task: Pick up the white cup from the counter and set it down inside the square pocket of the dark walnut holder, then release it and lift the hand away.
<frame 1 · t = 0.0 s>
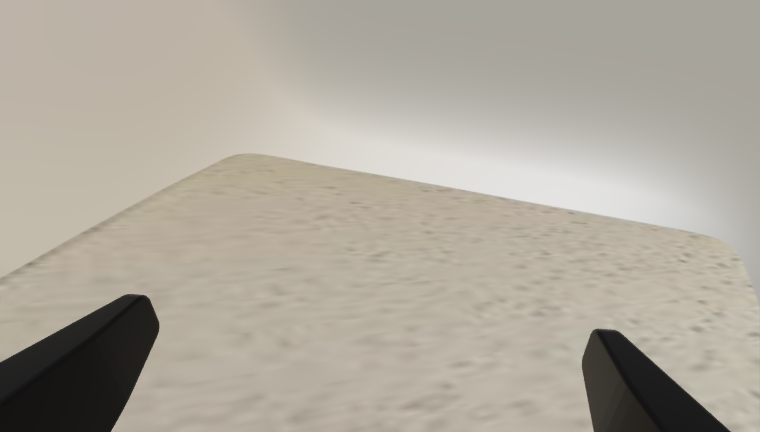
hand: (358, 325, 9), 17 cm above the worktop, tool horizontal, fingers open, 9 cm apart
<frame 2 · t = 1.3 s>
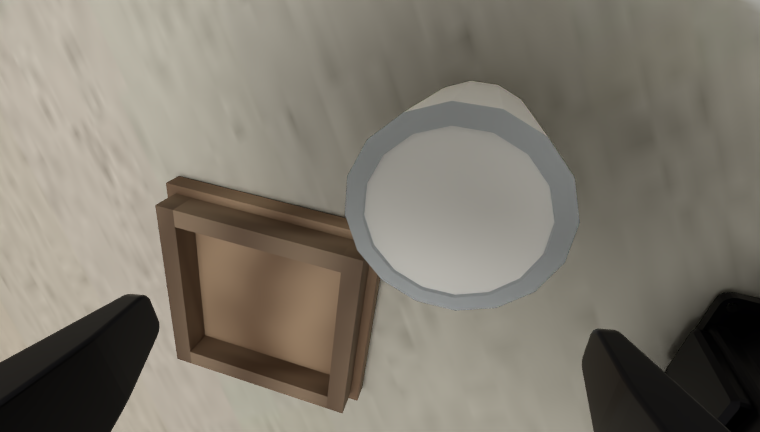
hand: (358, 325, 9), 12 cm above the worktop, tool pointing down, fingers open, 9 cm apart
walnut holder: (277, 290, 25), on the worktop
white cup: (470, 146, 19), on the worktop
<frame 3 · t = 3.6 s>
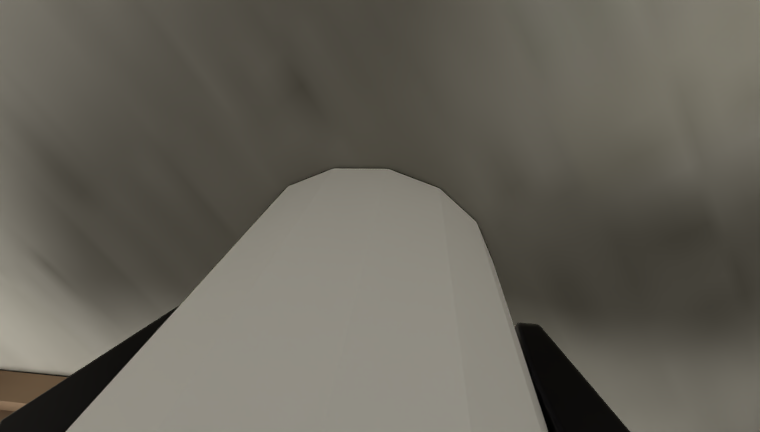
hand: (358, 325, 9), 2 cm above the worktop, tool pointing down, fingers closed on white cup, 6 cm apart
white cup: (370, 271, 10), on the worktop, touching gripper
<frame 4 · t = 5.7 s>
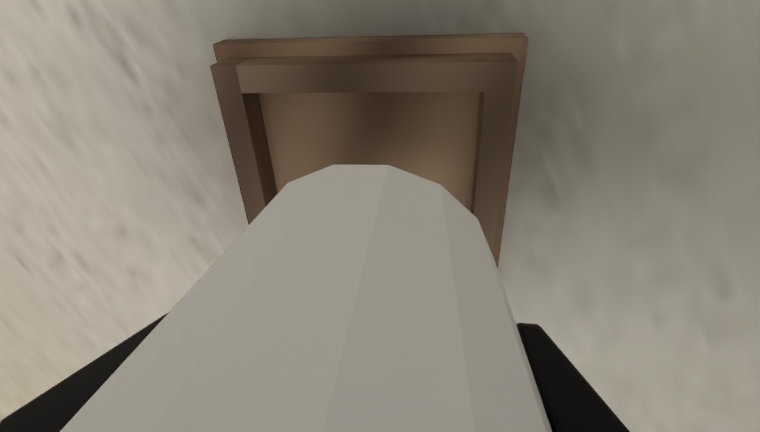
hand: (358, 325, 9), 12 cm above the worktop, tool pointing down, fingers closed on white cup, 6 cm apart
walnut holder: (374, 173, 20), on the worktop
white cup: (370, 268, 10), point 10 cm above the worktop, touching gripper
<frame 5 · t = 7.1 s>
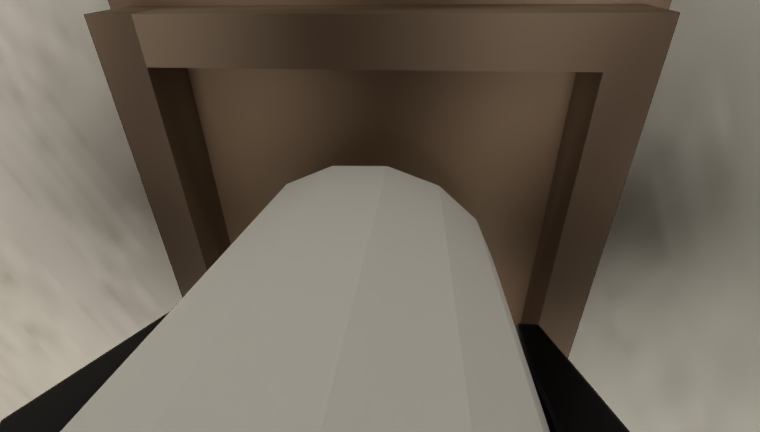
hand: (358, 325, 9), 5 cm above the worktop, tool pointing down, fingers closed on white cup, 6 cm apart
walnut holder: (380, 204, 13), on the worktop
white cup: (369, 269, 10), point 3 cm above the worktop, touching gripper
when the fingers open (4 cm above the worktop, at t = 8.2 s): white cup drops 1 cm, resting on walnut holder.
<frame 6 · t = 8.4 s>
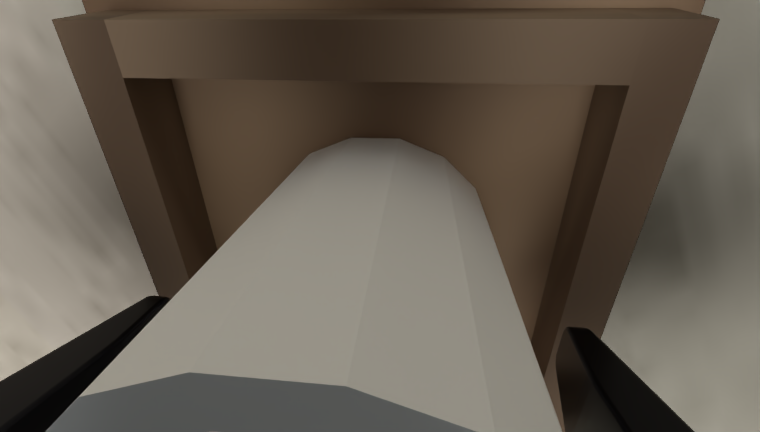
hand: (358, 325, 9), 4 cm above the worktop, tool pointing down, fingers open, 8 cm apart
walnut holder: (380, 220, 12), on the worktop
white cup: (379, 234, 11), point 1 cm above the worktop, touching walnut holder
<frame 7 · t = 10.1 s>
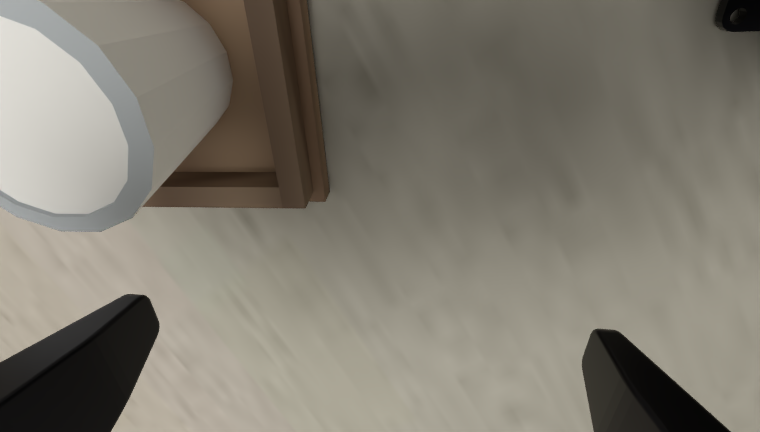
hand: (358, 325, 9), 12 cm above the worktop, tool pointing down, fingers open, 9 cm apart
walnut holder: (176, 65, 18), on the worktop
white cup: (167, 67, 17), point 1 cm above the worktop, touching walnut holder
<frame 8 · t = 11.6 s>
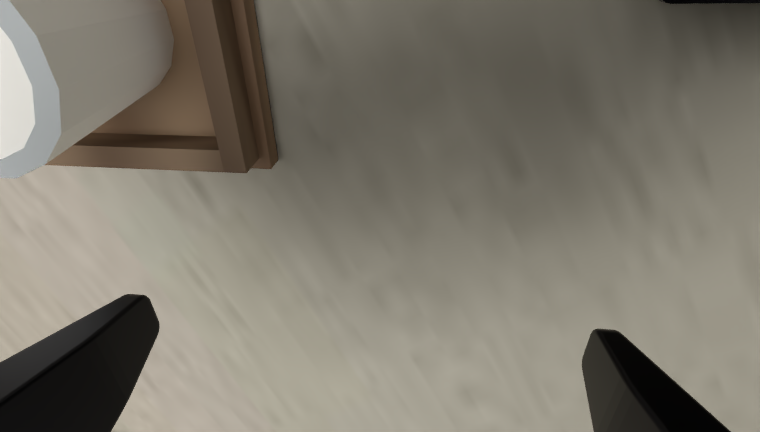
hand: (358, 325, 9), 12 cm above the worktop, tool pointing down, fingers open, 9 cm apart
walnut holder: (120, 24, 18), on the worktop
white cup: (108, 24, 17), point 1 cm above the worktop, touching walnut holder
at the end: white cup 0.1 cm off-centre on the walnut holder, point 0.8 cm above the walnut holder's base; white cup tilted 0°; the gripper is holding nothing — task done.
